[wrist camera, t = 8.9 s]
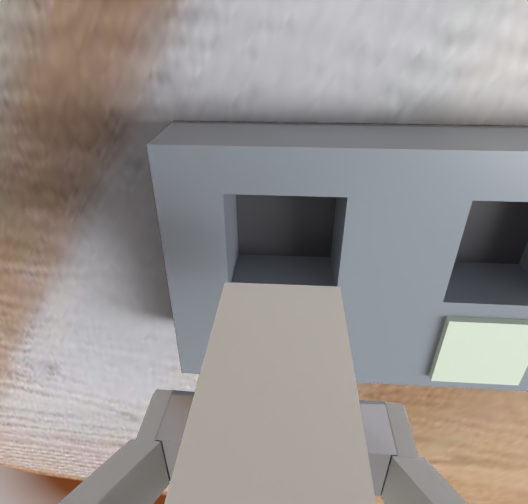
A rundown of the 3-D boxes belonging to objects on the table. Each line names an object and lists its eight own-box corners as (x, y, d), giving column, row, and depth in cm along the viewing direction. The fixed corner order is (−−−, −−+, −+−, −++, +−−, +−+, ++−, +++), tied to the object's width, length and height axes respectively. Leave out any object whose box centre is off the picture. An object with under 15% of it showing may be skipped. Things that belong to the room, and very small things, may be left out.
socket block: (174, 120, 21) (143, 147, 17) (877, 131, 19) (1045, 164, 15) (197, 323, 28) (180, 377, 24) (708, 347, 26) (787, 411, 22)
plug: (224, 282, 14) (153, 544, 7) (340, 286, 14) (386, 563, 7) (230, 364, 16) (179, 630, 9) (330, 369, 16) (358, 647, 9)
